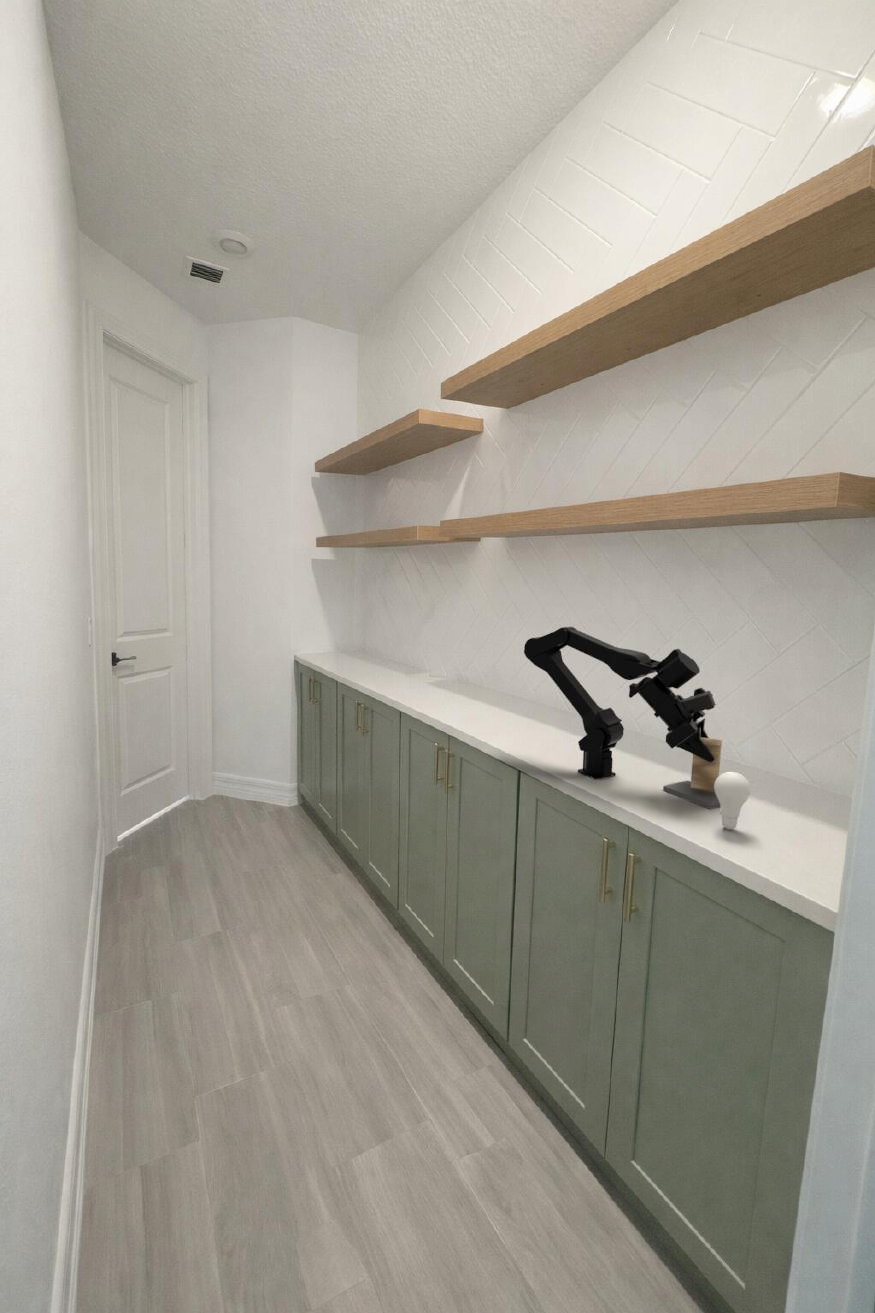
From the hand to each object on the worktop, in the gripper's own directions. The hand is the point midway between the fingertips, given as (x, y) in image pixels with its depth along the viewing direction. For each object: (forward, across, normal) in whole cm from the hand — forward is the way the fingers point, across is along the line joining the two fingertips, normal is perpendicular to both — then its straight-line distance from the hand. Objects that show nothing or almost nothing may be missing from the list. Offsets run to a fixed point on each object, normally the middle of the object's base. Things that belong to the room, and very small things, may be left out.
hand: (713, 757), depth 127 cm
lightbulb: (+10, -15, +3) cm, 18 cm away
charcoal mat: (+5, 0, +8) cm, 9 cm away
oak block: (+4, 0, +6) cm, 7 cm away
